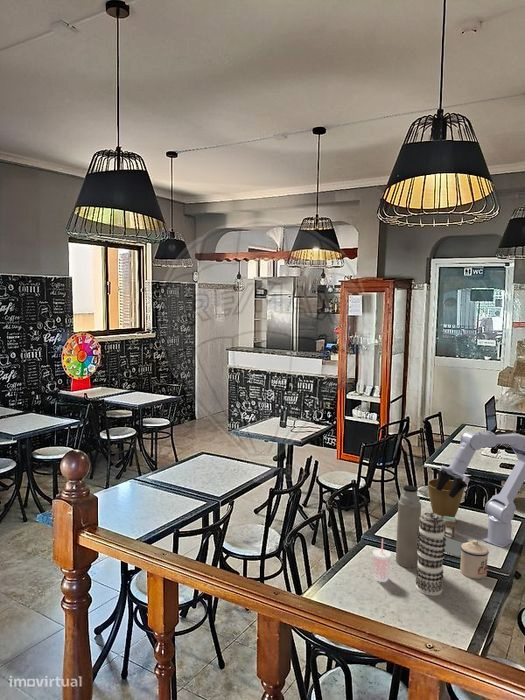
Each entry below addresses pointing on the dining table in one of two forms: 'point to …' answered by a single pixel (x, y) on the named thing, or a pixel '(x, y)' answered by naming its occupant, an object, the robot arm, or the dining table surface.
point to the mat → (453, 547)
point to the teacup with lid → (474, 559)
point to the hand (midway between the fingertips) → (444, 493)
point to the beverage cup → (381, 564)
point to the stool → (450, 524)
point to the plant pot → (443, 499)
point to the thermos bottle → (408, 527)
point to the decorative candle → (430, 554)
